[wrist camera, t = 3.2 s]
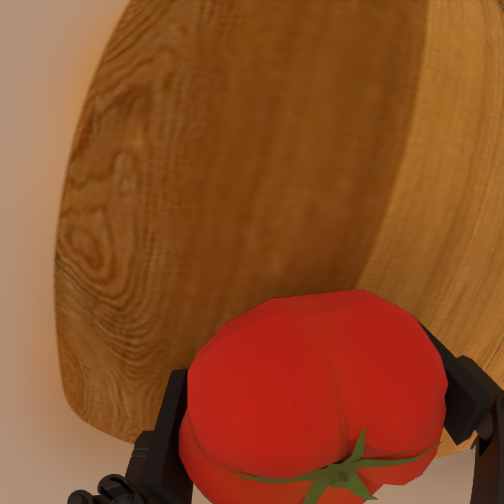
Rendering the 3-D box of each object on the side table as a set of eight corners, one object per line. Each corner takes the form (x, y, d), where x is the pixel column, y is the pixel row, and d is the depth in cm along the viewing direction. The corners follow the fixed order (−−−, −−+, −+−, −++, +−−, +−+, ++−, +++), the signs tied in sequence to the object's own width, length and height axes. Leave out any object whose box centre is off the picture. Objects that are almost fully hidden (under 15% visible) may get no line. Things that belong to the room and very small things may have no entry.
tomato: (317, 445, 15) (340, 538, 8) (156, 388, 13) (120, 508, 6) (434, 323, 13) (517, 406, 6) (269, 210, 11) (325, 287, 4)
